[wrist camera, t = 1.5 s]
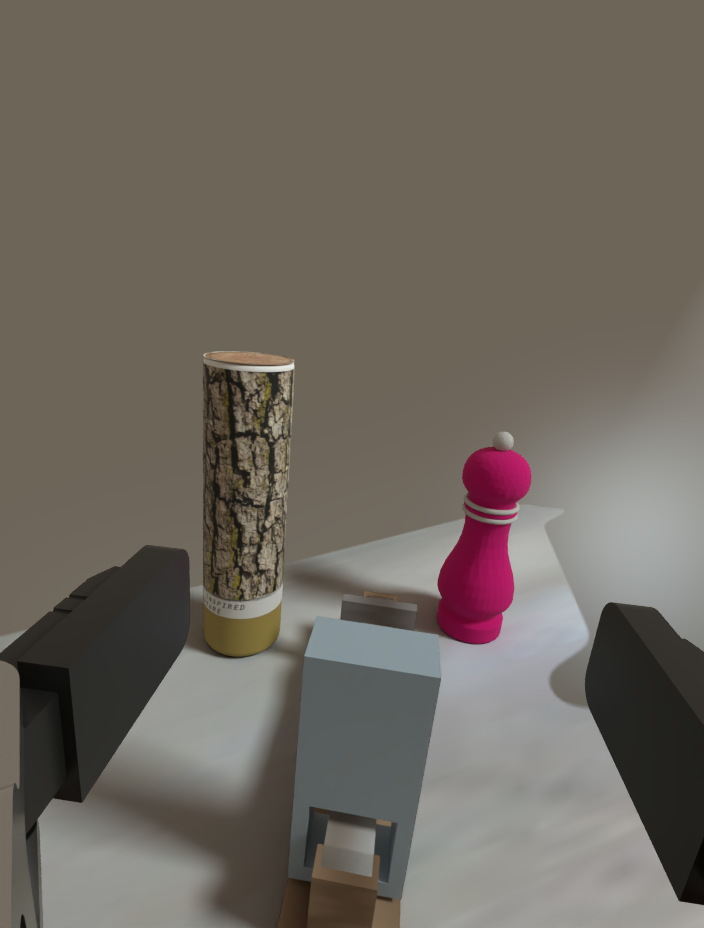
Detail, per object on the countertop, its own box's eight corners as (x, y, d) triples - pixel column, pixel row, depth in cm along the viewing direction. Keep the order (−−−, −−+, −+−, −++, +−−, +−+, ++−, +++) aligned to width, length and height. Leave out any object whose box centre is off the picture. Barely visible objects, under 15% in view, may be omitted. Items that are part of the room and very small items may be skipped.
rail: (274, 945, 25) (281, 842, 23) (342, 636, 47) (349, 570, 45) (397, 970, 24) (416, 868, 22) (407, 646, 47) (417, 580, 45)
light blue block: (287, 877, 27) (304, 655, 22) (300, 822, 30) (316, 616, 25) (401, 899, 26) (441, 678, 22) (402, 841, 29) (438, 634, 25)
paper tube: (263, 668, 43) (277, 368, 35) (188, 651, 44) (185, 356, 36) (289, 621, 49) (306, 358, 41) (224, 607, 50) (227, 349, 42)
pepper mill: (479, 600, 56) (514, 422, 49) (519, 642, 49) (566, 443, 43) (419, 607, 53) (448, 421, 47) (453, 653, 47) (492, 444, 40)
